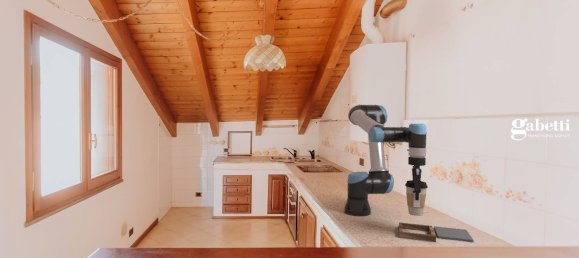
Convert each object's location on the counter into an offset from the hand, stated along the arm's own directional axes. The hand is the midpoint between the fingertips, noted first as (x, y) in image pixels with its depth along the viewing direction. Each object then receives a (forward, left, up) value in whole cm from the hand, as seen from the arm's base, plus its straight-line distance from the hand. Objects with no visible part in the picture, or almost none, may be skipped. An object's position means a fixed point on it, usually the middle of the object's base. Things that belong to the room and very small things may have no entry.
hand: (415, 203), depth 141 cm
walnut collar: (0, 0, -14) cm, 14 cm away
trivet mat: (-5, +16, -14) cm, 22 cm away
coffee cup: (0, 0, -5) cm, 5 cm away
